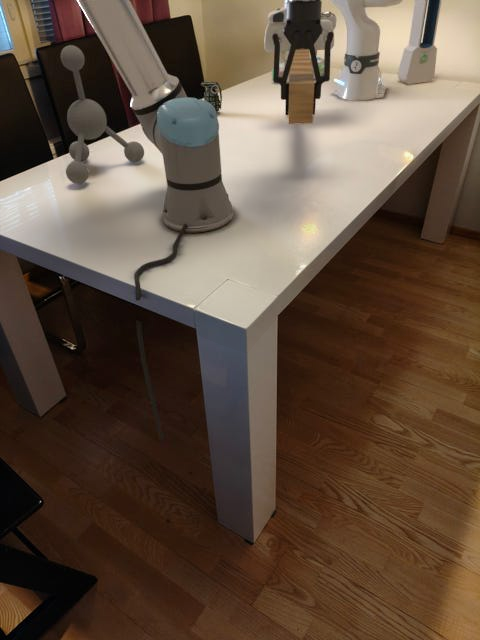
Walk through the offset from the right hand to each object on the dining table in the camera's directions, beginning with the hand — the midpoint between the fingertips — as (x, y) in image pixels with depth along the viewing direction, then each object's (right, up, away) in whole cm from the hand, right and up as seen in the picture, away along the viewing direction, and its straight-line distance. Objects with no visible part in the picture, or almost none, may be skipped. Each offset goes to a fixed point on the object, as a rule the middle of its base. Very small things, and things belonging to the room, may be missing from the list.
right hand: (298, 67), depth 145 cm
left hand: (-3, -25, -28) cm, 38 cm away
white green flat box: (+8, +29, +64) cm, 71 cm away
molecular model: (-54, -33, -10) cm, 64 cm away
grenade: (-27, -2, +27) cm, 38 cm away
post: (-1, -14, -13) cm, 19 cm away
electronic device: (+53, +21, +50) cm, 76 cm away
